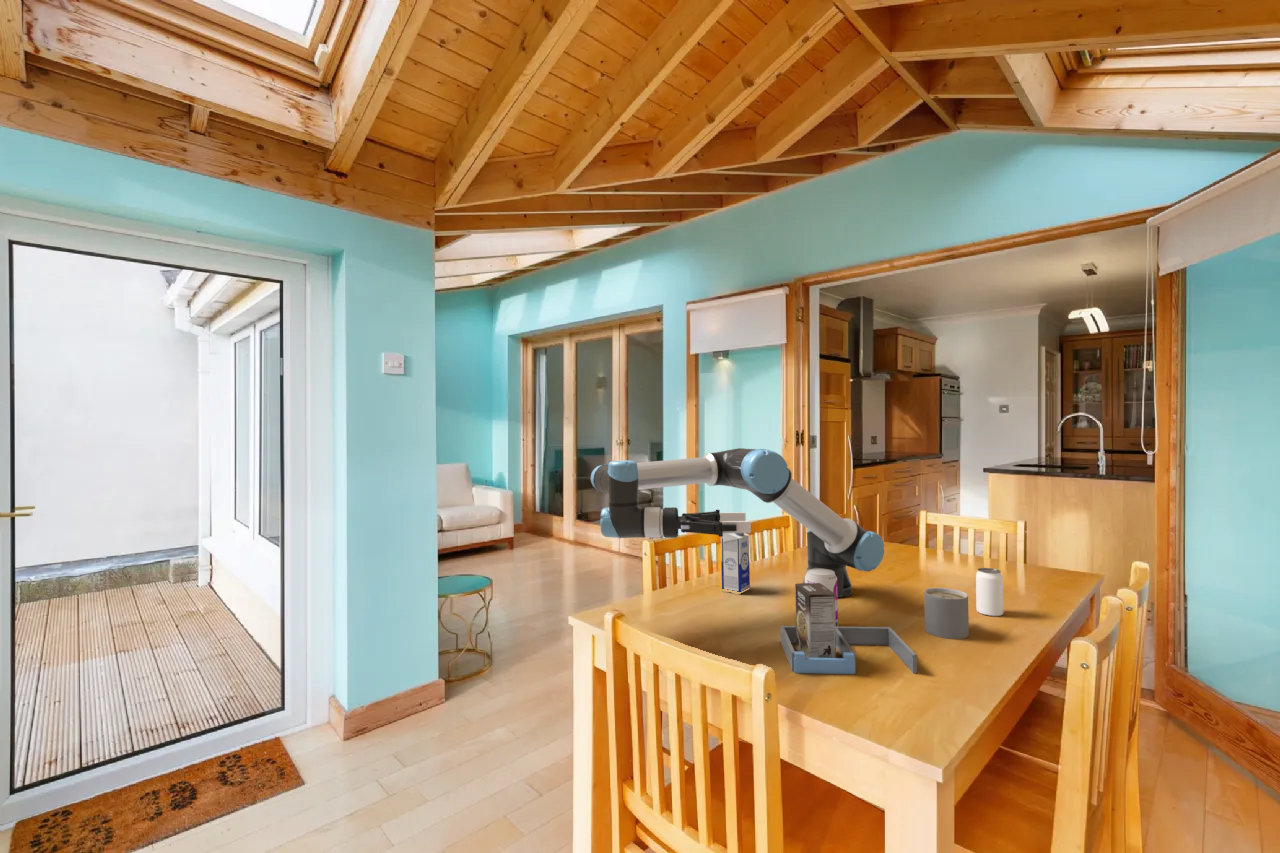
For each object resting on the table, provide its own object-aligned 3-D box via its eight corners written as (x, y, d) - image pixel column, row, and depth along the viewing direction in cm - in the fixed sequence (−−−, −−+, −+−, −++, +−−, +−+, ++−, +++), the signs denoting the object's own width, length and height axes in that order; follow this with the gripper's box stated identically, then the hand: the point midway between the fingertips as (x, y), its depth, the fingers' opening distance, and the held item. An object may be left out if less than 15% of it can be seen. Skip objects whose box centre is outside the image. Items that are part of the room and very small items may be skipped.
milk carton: (731, 586, 193) (730, 526, 193) (750, 589, 189) (748, 528, 189) (721, 591, 187) (720, 530, 187) (740, 595, 183) (739, 532, 183)
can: (1007, 617, 158) (1006, 573, 158) (981, 616, 160) (980, 572, 159) (997, 609, 165) (997, 567, 165) (972, 608, 166) (972, 567, 166)
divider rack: (780, 641, 144) (780, 625, 144) (890, 643, 141) (890, 626, 141) (793, 673, 126) (792, 654, 126) (919, 676, 123) (919, 656, 123)
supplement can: (838, 624, 155) (837, 568, 155) (838, 635, 147) (836, 576, 147) (806, 621, 158) (805, 567, 158) (805, 632, 150) (803, 574, 150)
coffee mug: (963, 642, 141) (962, 601, 141) (919, 633, 148) (919, 594, 148) (976, 627, 151) (975, 589, 151) (935, 619, 158) (934, 582, 158)
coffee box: (795, 650, 138) (794, 583, 138) (821, 649, 139) (820, 582, 139) (809, 666, 129) (807, 594, 129) (837, 664, 130) (836, 592, 130)
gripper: (665, 528, 158) (743, 528, 156) (659, 548, 133) (753, 548, 131) (664, 501, 158) (743, 500, 156) (659, 515, 133) (752, 515, 131)
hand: (748, 522), depth 143 cm, fingers open, 13 cm apart
